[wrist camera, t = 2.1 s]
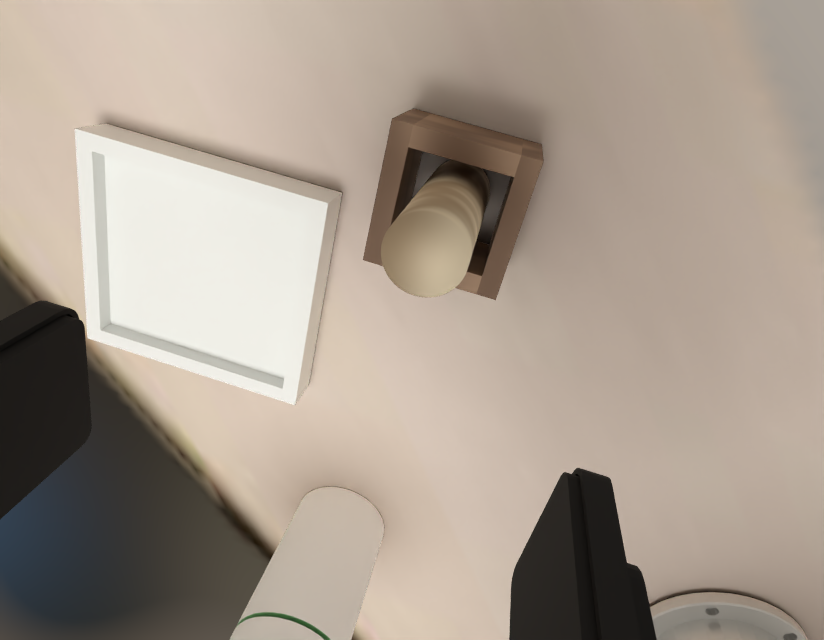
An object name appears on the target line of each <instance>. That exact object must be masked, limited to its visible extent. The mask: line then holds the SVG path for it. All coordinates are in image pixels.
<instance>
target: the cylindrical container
mask: <svg viewBox="0 0 824 640" xmlns="http://www.w3.org/2000/svg"><path fill="white" fill-rule="evenodd" d="M383 535H384V523H383V520H382V517H381V515H380V513H379V512H378V510H377V509H376V508H375V506H374V505H373V504H372V503H370V502H369V501H368V500H367V499H365V498H364V497H363V496H361V495H359V494H357V493H355V492H353V491H350V490H347V489H344V488H339V487H322V488H318V489H315V490H312V491H311V492H309V493H308V494H306V495H305V496H304V498H303V499H302V501H301V502H300V504H299V506H298V508H297V510H296V512H295V514H294V516H293V518H292V520H291V522H290V524H289V526H288V528H287V529H286V531H285V533H284V535H283V537H282V539H281V541H280V543H279V545H278V547H277V549H276V551H275V553H274V555H273V557H272V559H271V560H270V562H269V564H268V566H267V568H266V570H265V572H264V574H263V576H262V578H261V580H260V582H259V584H258V586H257V588H256V590H255V591H254V593H253V595H252V597H251V599H250V601H249V603H248V605H247V607H246V609H245V611H244V613H243V615H242V617H241V619H240V620H239V623H238V625H237V626H236V628H235V630H234V632H233V634H232V636H231V638H230V640H351V638H352V635H353V632H354V629H355V625H356V622H357V619H358V616H359V613H360V609H361V606H362V603H363V600H364V596H365V593H366V590H367V587H368V583H369V580H370V577H371V574H372V570H373V567H374V564H375V561H376V557H377V554H378V551H379V548H380V544H381V541H382V538H383Z"/></svg>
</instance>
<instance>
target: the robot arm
mask: <svg viewBox="0 0 824 640" xmlns="http://www.w3.org/2000/svg"><path fill="white" fill-rule="evenodd" d="M91 426H92V425H91V413H90V397H89V384H88V370H87V356H86V342H85V328H84V324H83V322H82V321H81V320H79V317H78V314H77V313H76V311H74V310H72V309H70V308H67V307H64V306H60V305H57V304H54V303H51V302H48V301H38V302H35V303H33V304H31V305H29V306H27V307H26V308H24V309H22V310H20V311H18V312H16V313H14V314H12V315H10V316H9V317H6V318H5V319H3V320H1V321H0V519H1V518H2V517H3V516H4V515H5V514H7V513H8V512H9V511H10V510H11V509H12V508H13V507H14V506H15V505H17V504H18V503H19V502H20V501H21V500H22V499H23V498H24V497H25V496H27V495H28V494H29V493H30V492H31V491H32V490H33V489H34V488H35V487H37V486H38V485H39V484H40V483H41V482H42V481H43V480H44V479H46V478H47V477H48V476H49V475H50V474H51V473H52V472H53V471H54V470H55V469H57V468H58V467H59V466H60V465H61V464H62V463H63V462H64V461H65V460H67V459H68V458H69V457H70V456H71V455H72V454H73V453H74V452H76V451H77V450H78V449H79V448H80V447H81V446H82V445H83V444H84V443H85V442H86V440H87V439H88V437H89V435H90V432H91ZM509 640H808V639H807V637H806V635H805V633H804V631H803V629H802V628H801V627H800V626H799V625H798V624H797V622H796V621H795V620H794V619H793V618H791V617H790V616H789V615H787V614H786V613H785V612H783V611H782V610H780V609H778V608H776V607H774V606H772V605H770V604H768V603H766V602H763V601H760V600H757V599H754V598H751V597H747V596H742V595H737V594H732V593H719V592H703V593H691V594H686V595H680V596H676V597H673V598H670V599H667V600H664V601H661V602H659V603H657V604H655V605H653V606H651V607H650V606H649V601H648V596H647V592H646V587H645V582H644V579H643V576H642V573H641V571H640V569H639V568H638V567H637V566H635V565H632V564H629V563H627V562H626V556H625V551H624V546H623V540H622V535H621V530H620V524H619V519H618V514H617V508H616V503H615V498H614V492H613V487H612V483H611V480H610V478H609V477H606V476H603V475H600V474H596V473H593V472H590V471H587V470H584V469H580V468H577V469H575V470H574V472H573V473H572V474H569V473H566V472H564V473H563V474H562V475H561V477H560V479H559V481H558V483H557V485H556V487H555V489H554V491H553V493H552V495H551V497H550V499H549V501H548V503H547V505H546V507H545V509H544V511H543V513H542V514H541V516H540V518H539V520H538V522H537V524H536V526H535V528H534V530H533V532H532V534H531V536H530V538H529V540H528V542H527V544H526V546H525V548H524V550H523V552H522V554H521V556H520V558H519V560H518V562H517V564H516V567H515V569H514V573H513V577H512V584H511V608H510V638H509Z"/></svg>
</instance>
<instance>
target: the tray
mask: <svg viewBox="0 0 824 640" xmlns="http://www.w3.org/2000/svg"><path fill="white" fill-rule="evenodd" d="M75 142H76V158H77V175H78V191H79V207H80V223H81V239H82V255H83V272H84V288H85V304H86V320H87V336H88V339H91V340H95V341H98V342H101V343H104V344H107V345H110V346H113V347H116V348H119V349H122V350H125V351H129V352H132V353H135V354H138V355H141V356H144V357H147V358H150V359H153V360H156V361H160V362H163V363H166V364H169V365H172V366H175V367H178V368H181V369H184V370H187V371H190V372H194V373H197V374H200V375H203V376H206V377H209V378H212V379H215V380H218V381H221V382H225V383H228V384H231V385H234V386H237V387H240V388H243V389H246V390H249V391H252V392H255V393H259V394H262V395H265V396H268V397H271V398H274V399H277V400H280V401H283V402H286V403H290V404H293V405H296V403H297V402H298V400H299V399H300V397H301V396H302V394H303V393H304V391H305V390H306V388H307V387H308V385H309V381H310V375H311V369H312V364H313V358H314V352H315V346H316V341H317V335H318V329H319V324H320V318H321V312H322V306H323V301H324V295H325V289H326V284H327V278H328V272H329V266H330V261H331V255H332V249H333V244H334V238H335V232H336V226H337V221H338V215H339V209H340V204H341V198H342V193H341V192H338V191H335V190H331V189H328V188H324V187H321V186H318V185H314V184H311V183H307V182H304V181H300V180H297V179H294V178H290V177H287V176H283V175H280V174H277V173H273V172H270V171H266V170H263V169H260V168H256V167H253V166H249V165H246V164H243V163H239V162H236V161H232V160H229V159H225V158H222V157H219V156H215V155H212V154H208V153H205V152H202V151H198V150H195V149H191V148H188V147H185V146H181V145H178V144H174V143H171V142H168V141H164V140H161V139H157V138H154V137H150V136H147V135H144V134H140V133H137V132H133V131H130V130H127V129H123V128H120V127H116V126H113V125H110V124H106V123H104V124H99V125H93V126H87V127H81V128H75Z"/></svg>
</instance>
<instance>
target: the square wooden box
mask: <svg viewBox="0 0 824 640" xmlns="http://www.w3.org/2000/svg"><path fill="white" fill-rule="evenodd" d="M422 152H427V153H430V154H434V155H438V156H441V157H445V158H448V159H452V160H455V161H459V162H462V163H466V164H469V165H473V166H476V167H480V168H483V169H487V170H490V171H494V172H497V173H501V174H504V175H508V176H511V179H510V182H509V185H508V188H507V191H506V194H505V197H504V201H503V204H502V207H501V210H500V213H499V216H498V219H497V222H496V225H495V229H494V232H493V235H492V238H491V241H490V244H485V243H482V242H478V241H476V243H475V246H474V250H473V253H472V256H471V260H470V263H469V266H468V270H467V272H466V275H465V276H464V278H463V280H462V281H461V282H460V284H459V285H458V286H457V287H455V288H458V289H461V290H464V291H468V292H471V293H474V294H478V295H481V296H484V297H488V298H491V299H494V300H496V297H497V294H498V292H499V289H500V286H501V283H502V280H503V277H504V274H505V271H506V268H507V265H508V263H509V260H510V257H511V254H512V251H513V248H514V245H515V242H516V239H517V237H518V234H519V231H520V228H521V225H522V222H523V219H524V216H525V213H526V211H527V208H528V205H529V202H530V199H531V196H532V193H533V190H534V187H535V185H536V182H537V179H538V176H539V173H540V170H541V167H542V164H543V151H542V144H539V143H535V142H532V141H528V140H524V139H521V138H517V137H514V136H510V135H507V134H503V133H499V132H496V131H492V130H489V129H485V128H482V127H478V126H474V125H471V124H467V123H464V122H460V121H457V120H453V119H449V118H446V117H442V116H439V115H435V114H432V113H428V112H424V111H421V110H417V109H414V108H413V109H411V110H409V111H407V112H405V113H403V114H401V115H399V116H397V117H395V118H393V119H392V121H391V126H390V131H389V136H388V141H387V145H386V150H385V155H384V160H383V165H382V170H381V175H380V179H379V184H378V189H377V194H376V199H375V204H374V209H373V213H372V218H371V223H370V228H369V233H368V238H367V243H366V247H365V252H364V257H363V260H365V261H368V262H371V263H375V264H378V265H381V266H383V264H382V260H381V245H382V241H383V238H384V235H385V233H386V232H387V230H388V228H389V227H390V226H391V225H392V223H393V222H394V221H395V220H396V219H397V217H398V216H399V215H400V214H401V212H402V211H403V210H404V209H405V208H406V206H407V205H408V204H409V203H410V201H411V198H412V194H413V189H414V185H415V181H416V177H417V173H418V168H419V164H420V160H421V156H422Z"/></svg>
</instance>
